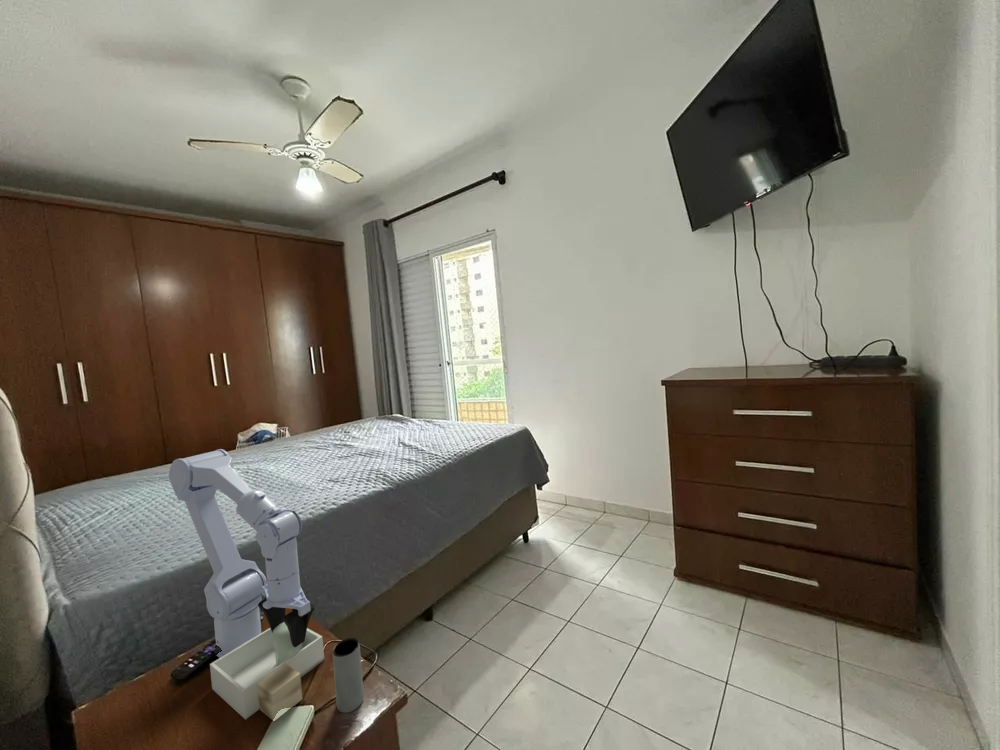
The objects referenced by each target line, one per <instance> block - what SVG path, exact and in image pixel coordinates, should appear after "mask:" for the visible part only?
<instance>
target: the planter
mask: <svg viewBox="0 0 1000 750" xmlns="http://www.w3.org/2000/svg"><path fill="white" fill-rule="evenodd" d="M332 648H333V649H332V660H333V661H332V665H333V675H334V687H335V688H334V689H335V700H336V701H335V702H336V708H337V710H338V711H339V712H340V713H345V714H346V713H350V712H352V711H354V710H356V709H357V708H359V707H360V706H361V704H362V702H364V697H365V693H364V682H363V680H364V679H363V670H362V669H363V668H362V659H361V657H362V655H361V645H360V640H359V639H358V638H357V637H356V638H355V637H347V638H344V639H342V640H341V641H338V642H337V643H336V644H335V646H334V647H332Z"/></svg>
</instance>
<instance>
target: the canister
mask: <svg viewBox="0 0 1000 750" xmlns="http://www.w3.org/2000/svg"><path fill="white" fill-rule="evenodd" d="M273 638H274V648H275V657H276V667H277V666H278V665H280V664H281V663H282V662H284V661H285V660H287V659H288V658H290V657H291V656H293V655H294V654H295V653H297V652H298V651H300V650H301V649H303V643H301V644H300V645H298V646H297V647H293V645H292V642H291V638H290V633H289V630H288V628H287V626H286V624H285V623H284V622H283V623H281V624H280V625H278V626H277V627H276V628H275V629H274V631H273Z"/></svg>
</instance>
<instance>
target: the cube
mask: <svg viewBox="0 0 1000 750" xmlns="http://www.w3.org/2000/svg"><path fill="white" fill-rule="evenodd" d="M301 678H302V677H300V673H299V672H297V671H296V670H294V669H293V668H291V667H290V666H288V665H287V664H283V665H282V666H281V667H279V668H278V669H276V670H275V671H274V672H272V673H271V674H269V675H268V676H266V677H265V678H264V679H262V680H261V681H259V682H258V683H257V687H258V698H259V711H261V712H262V713H263V714H264V715H266V717H268V718H269V719H270V720H271V721H273V719H274V718H275V716H276V714H277V713H278V711H280V710H281V709H284V708H289V707H292V708H293V706H294V707H295V706H296V705H297V704H298V703H300V702H301V701H302V700H303V691H302V689H303V688H302V679H301Z"/></svg>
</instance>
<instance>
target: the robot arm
mask: <svg viewBox="0 0 1000 750" xmlns="http://www.w3.org/2000/svg"><path fill="white" fill-rule="evenodd" d="M168 480H169V482H170V485H171V487H172V489H173V492H174V494H175V496H176V498H177V500H178V501H182V502H184V504H185V506H186V508H187V511H188V513H189V516H190V517H191V521H192V523H193V525H194V528H195V530H196V534H197V535H198V537H199V540H200V542H201V545H202V547H203V550H204V552H205V554H206V556H207V559H208V562H209V564H210V566H211V568H212V571H213V574H212V575H211V577H210V579H209V580H208V582H207V583H206V585H205V587H204V589H203V593H204V596H205V598H206V600H205V601H206V609H207V612H208V614H209V615H210V616H211V617H212V618H213V619H214V620H213V626H214V637H215V646H216V645H217V646H219V647H220V648H221V650H222V651H221V652H219V653H218V654H217V655H216V657H218V659H219V658H221V657H223V656H224V655H226V654H228V653H229V652H231V651H232V650H234V649H236V648H237V647H239V646H241V645H242V644H244V643H246V642H247V641H249V640H251V639H252V638H254V637H256V636H257V635H259V634H261V633H262V623H261V613H260V610H261V612H262V613H263V614H264V616H265V618H266V620H267V622H268V626H269V628H271V631H272V633H273V631H274V629H275V628H276V627H277V626H278V625H280V624H281V623H283V622H284V623H285V624H286V626H287V628H288V630H289V633H290V638H291V642H292V645H293V647H297V646H298V645H300V644H301V643H303V642H304V641H305V636H306V631H307V628H308V626H309V622H310V619H311V617H312V615H313V613H314V611H315V605H314V604H313V603H311V601H310V600H308V599H307V597H306V594H305V593H304V590H303V589H302V587H301V580H300V577H301V576H300V568H299V567H300V566H299V557H298V556H299V555H298V542H297V536H299V535H300V534H301V532H302V529H303V522H302V521H303V520H302V519H301V517H300V515H299V513H297V512H296V510H295V509H292V508H286V507H280V506H279V505H278V504H277V503H276V502H275V501H273V500H272V499H271V498H270V497H269V496H268V495H267V494H266V493H265V492H264V491H262V490H253V489H252V488H251V487H250V485H248V484H247V483H246V481H245V480H243V478H242V477H241V475H240V474H238V472H237V471H236V470H235V469H234V461H233V458H232V456H230V454H229V452H227V451H226V450H225V449H222V448H219V449H216V450H213V451H209V452H203V453H200V454H196V455H192V456H188V457H184V458H175V459H174V460H173V461H172V463H171V465H170V467H169V472H168ZM217 491H220V492H221V493H223V494H224V495H225V496H226V497H228V498H229V499H230V500H231V501H233V502H234V503H235V504H236V509H235V510H236V513H237V514H238V516H240V518H241V519H243V520H244V521H245V522H246V523H247V524H248V525H250V527H251V528H252V529H253V530H254V531H255V532H256V533H255V534H254V535H255V539H256V541H257V544H258V545H259V547H260V550H261V551H260V552H261V555H262V557H263V558H264V559H265V573H266V576H265V574H264V573H263V571H261V570H260V568H259V567H258V565H257V563H256V561H254V560H248V559H247V560H246V559H243V558H242V557H241V555H240V552H239V550H238V548H237V546H236V544H235V541H234V539H233V536H232V533H231V532H230V529H229V527H228V525H227V522H226V520H225V518H224V516H223V512H222V511H221V508H220V506H219V504H218V501H217V499H216V493H217ZM236 576H237V577H236ZM234 577H236V578H234ZM232 578H234V579H232ZM231 579H232V580H231ZM229 580H230V581H229ZM227 581H229V582H227ZM263 597H264V599H263ZM262 599H263V600H262ZM287 609H291V612H289V613H287V614H286V610H287Z"/></svg>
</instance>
